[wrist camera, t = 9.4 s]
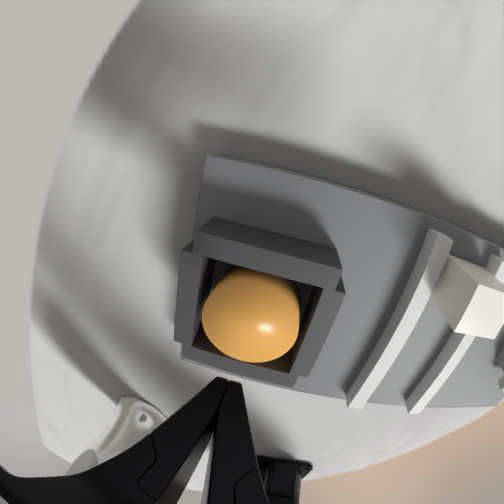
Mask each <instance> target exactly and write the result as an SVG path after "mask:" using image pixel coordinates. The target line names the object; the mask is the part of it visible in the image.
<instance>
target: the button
mask: <svg viewBox="0 0 504 504" xmlns="http://www.w3.org/2000/svg"><path fill="white" fill-rule="evenodd" d="M299 316H300V294H299V290H298V287H297V285H296V283H295V281H294V280H290V279H287V278H283V277H279V276H275V275H271V274H268V273H264V272H260V271H256V270H253V269H249V268H245V267H242V266H238V265H234V266H232V267H230V268H229V269H228V270H227V271H226V272H225V273H224V274H223V275H222V277H221V278H220V280H219V281H218V283H217V285H216V286H215V288H214V289H213V291H212V293H211V294H210V296H209V297H208V299H207V301H206V302H205V304H204V307H203V311H202V324H203V328H204V331H205V333H206V335H207V337H208V338H209V340H210V341H211V342H212V343H213V345H214V346H215V347H217V348H218V349H219V350H220V351H222V352H223V353H224V354H226V355H228V356H230V357H232V358H235V359H238V360H241V361H245V362H257V363H258V362H266V361H271V360H274V359H276V358H279V357H280V356H282V355H284V354H285V353H286V352H288V351H289V350H290V348H291V347H292V346H293V345H294V343H295V341H296V339H297V336H298V331H299Z"/></svg>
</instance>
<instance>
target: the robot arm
mask: <svg viewBox="0 0 504 504" xmlns="http://www.w3.org/2000/svg"><path fill="white" fill-rule="evenodd" d="M212 434H213V437H212ZM211 437H212V442H211V448H210V453H209V459H208V465H207V471H206V477H205V483H204V489H203V495H202V501H201V504H299V496H300V487H301V480H302V479H303V478H304V477H305V476H306V475H307V474H308V473H309V472H310V471H311V470H312V468H313V466H312V465H309V464H302V463H294V462H288V461H282V460H276V459H271V458H265V457H260V456H257V457H256V453H255V449H254V444H253V439H252V434H251V430H250V425H249V420H248V415H247V410H246V404H245V399H244V394H243V389H242V384H241V383H240V382H236V381H233V380H230V381H229V380H228V379H226V378H222V377H216V378H214V379H213V380H212V381H211V382H210V383H209V384H208V385H207V386H205V387H204V388H203V389H202V390H201V391H200V392H199V393H197V394H196V395H195V396H194V397H193V398H192V399H190V400H189V401H188V402H187V403H186V404H185V405H183V406H182V407H181V408H180V409H179V410H177V411H176V412H175V413H174V414H173V415H171V416H170V417H169V418H168V419H167V420H165V421H164V422H163V423H162V424H160V425H159V426H158V427H157V428H155V429H154V430H153V431H152V432H151V434H148V435H146V436H145V437H144V438H143V439H141V440H140V441H138V442H137V443H136V444H134V445H133V446H131V447H130V448H128V449H127V450H125V451H123V452H122V453H120V454H118V455H116V456H114V457H113V458H111V459H109V460H107V461H105V462H103V463H101V464H99V465H97V466H95V467H93V468H91V469H89V470H86V471H84V472H81V473H78V474H74V475H67V476H56V477H38V478H37V477H36V478H24V477H17V476H14V475H12V474H11V473H9V472H8V471H7V470H6V469H5V468H4V467H3V466H1V465H0V504H177V502H178V500H179V498H180V496H181V495H182V493H183V491H184V489H185V487H186V485H187V484H188V482H189V480H190V478H191V476H192V474H193V472H194V470H195V468H196V466H197V465H198V463H199V461H200V459H201V457H202V455H203V453H204V451H205V449H206V447H207V445H208V443H209V441H210V439H211Z"/></svg>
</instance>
